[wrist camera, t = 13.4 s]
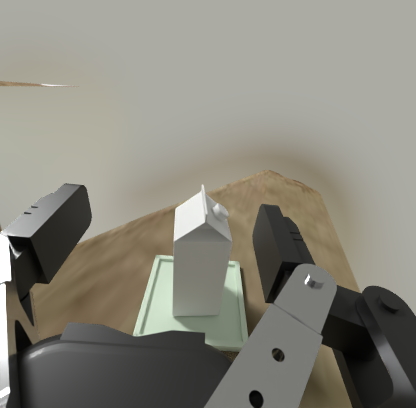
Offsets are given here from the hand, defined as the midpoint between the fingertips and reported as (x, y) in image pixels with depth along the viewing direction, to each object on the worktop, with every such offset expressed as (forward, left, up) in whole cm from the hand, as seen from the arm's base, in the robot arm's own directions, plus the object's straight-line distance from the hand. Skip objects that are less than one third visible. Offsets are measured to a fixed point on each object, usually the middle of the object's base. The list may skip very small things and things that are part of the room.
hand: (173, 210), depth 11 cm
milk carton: (+2, +16, -28) cm, 32 cm away
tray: (+2, +16, -28) cm, 32 cm away
